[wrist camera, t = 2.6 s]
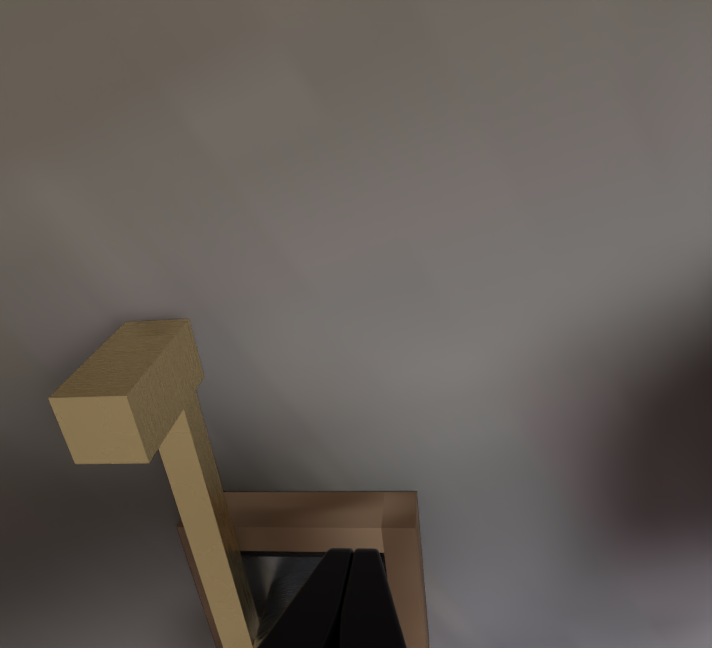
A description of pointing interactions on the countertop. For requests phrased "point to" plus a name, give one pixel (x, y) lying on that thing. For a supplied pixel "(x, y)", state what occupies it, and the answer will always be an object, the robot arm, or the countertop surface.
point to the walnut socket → (334, 540)
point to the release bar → (162, 448)
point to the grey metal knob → (275, 582)
